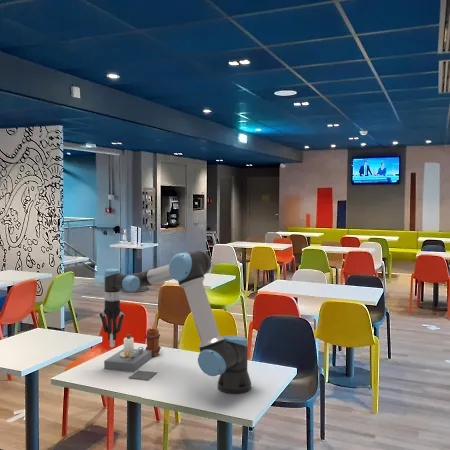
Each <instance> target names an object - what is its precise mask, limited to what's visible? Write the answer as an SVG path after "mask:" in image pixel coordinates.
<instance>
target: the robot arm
mask: <svg viewBox="0 0 450 450" xmlns="http://www.w3.org/2000/svg"><path fill="white" fill-rule="evenodd" d="M211 268H212V259H211V256H210V255H209V254H208V253H207V252H205V251H202V250H194V251H187V252H186V251H184V252H180V253H177V254H174V255H173V256H172V257H171V259H170V262H169V264H166V265H163V266H160V267H156V268H152V269H149V270H146V271H141V272H136V273H129V274H122V273H121V270H120V269H119V268H106V269H105V270H104V277H103V279H104V310H103V312H100V313H99V317H100V320H101V323H102V328H103V331H104V333H106V334H107V339H108V341H109V347H110V348H113V347H115V343H116V340H117V334H118V333H120V332H121V329H122V325H123V321H124V317H125V316H126V313H125V312H124V313H123V312H122V310H121V290H122V291H127V292H136V291H137V290H138V289H140V288H145V287H146V288H147V287H151V286H153V285H156V284H160V283H164V282H167V281H172V280H175V281H177V282H178V286H179V287H180V288H182V289H183V290H184V292H185V296H186V299H187V302H188V305H189V309H190V311H191V315H192V318H193V321H194V324H195V327H196V331H197V333H198V337H199V339H200V343H199V346H198V348H199V351H200V353H199V354H198V357H197V363H198V366H199V368H200V370H201V371H202V372H203V374H205V375H207V376H209V377H217V376H219V377H218V381H217V389H218V390H219V391H220V392H223V393H226V394H231V395H232V394H236V395H237V394H243V393H247V392H249V391H250V390H251V389H252V380H251V377H250V374H249V371H248V355H249V354H248V352H249V351H248V349H249V346H248V345H249V344H248V340H247V338H245V337H244V336H239V335H223V336H222V335H221V334H220V332H219V329H218V325H217V322H216V319H215V315H214V313H213V310H212V307H211V304H210V301H209V297H208V295H207V292H206V290H205V289H206V288H205V286H204V281H205V275H207V274H208V273H209V272H210V270H211ZM118 317H119V318H118ZM117 321H118V322H117Z"/></svg>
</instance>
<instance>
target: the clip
mask: <svg viewBox="0 0 450 450" xmlns="http://www.w3.org/2000/svg"><path fill="white" fill-rule="evenodd" d="M143 350H144V347H143V346H141V347H138V350H136V351H135V352H133V353H132V354H130V352H125V358H126V359H129V358H131V357H132V356H134V355H135V354H137V353H138V352H139V351H143Z"/></svg>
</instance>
